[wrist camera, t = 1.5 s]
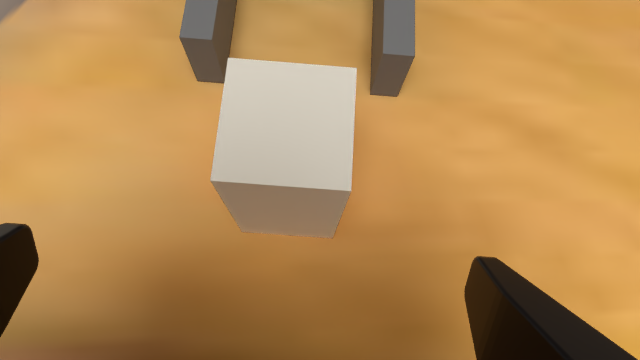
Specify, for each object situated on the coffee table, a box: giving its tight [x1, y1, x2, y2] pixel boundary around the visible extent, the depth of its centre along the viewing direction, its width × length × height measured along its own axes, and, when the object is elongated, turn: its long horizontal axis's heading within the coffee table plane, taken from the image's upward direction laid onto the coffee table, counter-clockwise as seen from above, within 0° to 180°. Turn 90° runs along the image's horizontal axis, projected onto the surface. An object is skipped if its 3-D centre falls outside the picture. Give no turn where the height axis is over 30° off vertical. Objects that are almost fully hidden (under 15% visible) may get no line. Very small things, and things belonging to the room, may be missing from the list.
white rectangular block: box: [210, 58, 357, 238], centre depth 19 cm, size 4×4×8 cm
